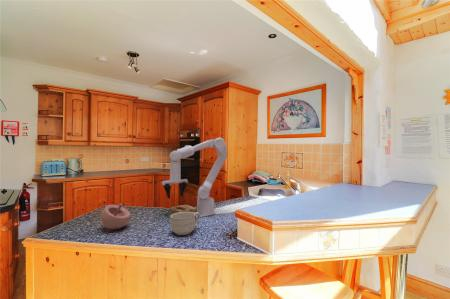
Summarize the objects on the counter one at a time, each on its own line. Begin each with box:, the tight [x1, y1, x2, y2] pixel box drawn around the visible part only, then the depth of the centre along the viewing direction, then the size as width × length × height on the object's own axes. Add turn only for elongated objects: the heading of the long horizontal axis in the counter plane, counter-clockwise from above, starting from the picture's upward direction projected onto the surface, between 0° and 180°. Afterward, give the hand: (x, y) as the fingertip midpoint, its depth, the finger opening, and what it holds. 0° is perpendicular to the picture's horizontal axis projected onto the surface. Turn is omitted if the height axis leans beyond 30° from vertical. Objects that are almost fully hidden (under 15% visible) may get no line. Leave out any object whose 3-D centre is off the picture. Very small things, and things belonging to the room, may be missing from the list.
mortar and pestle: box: [100, 202, 132, 230], centre depth 94 cm, size 12×12×12 cm
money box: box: [170, 203, 197, 221], centre depth 105 cm, size 9×10×6 cm
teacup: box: [169, 211, 202, 236], centre depth 91 cm, size 14×11×8 cm
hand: (175, 196), depth 115 cm, fingers open, 7 cm apart
